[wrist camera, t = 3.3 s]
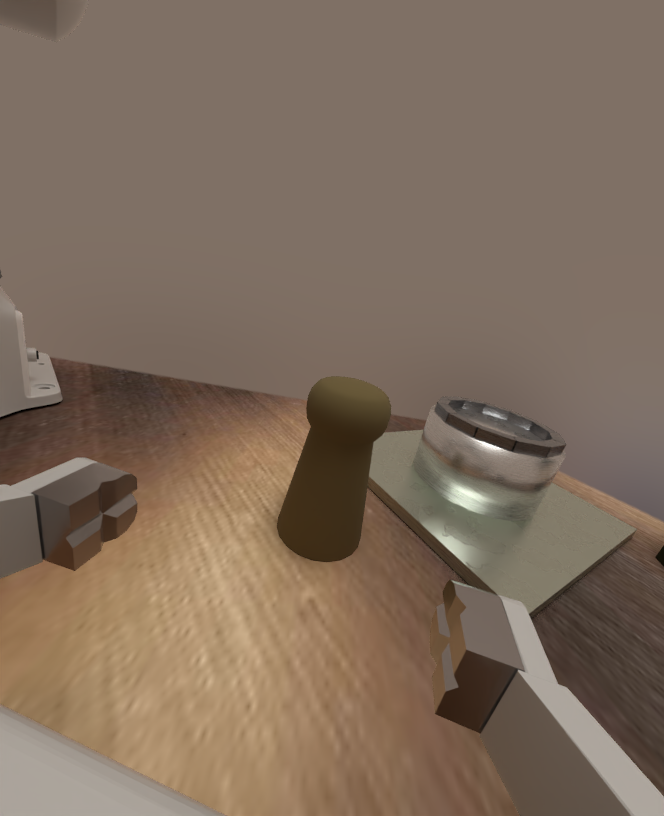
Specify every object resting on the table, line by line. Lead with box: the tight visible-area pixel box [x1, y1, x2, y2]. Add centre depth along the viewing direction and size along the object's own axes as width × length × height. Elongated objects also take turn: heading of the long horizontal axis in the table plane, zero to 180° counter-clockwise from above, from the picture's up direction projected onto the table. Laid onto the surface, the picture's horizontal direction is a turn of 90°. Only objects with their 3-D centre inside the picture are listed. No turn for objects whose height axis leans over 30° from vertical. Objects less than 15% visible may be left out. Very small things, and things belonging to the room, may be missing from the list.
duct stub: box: [368, 397, 637, 618], centre depth 31 cm, size 22×22×8 cm
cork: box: [277, 376, 391, 562], centre depth 21 cm, size 6×6×11 cm
